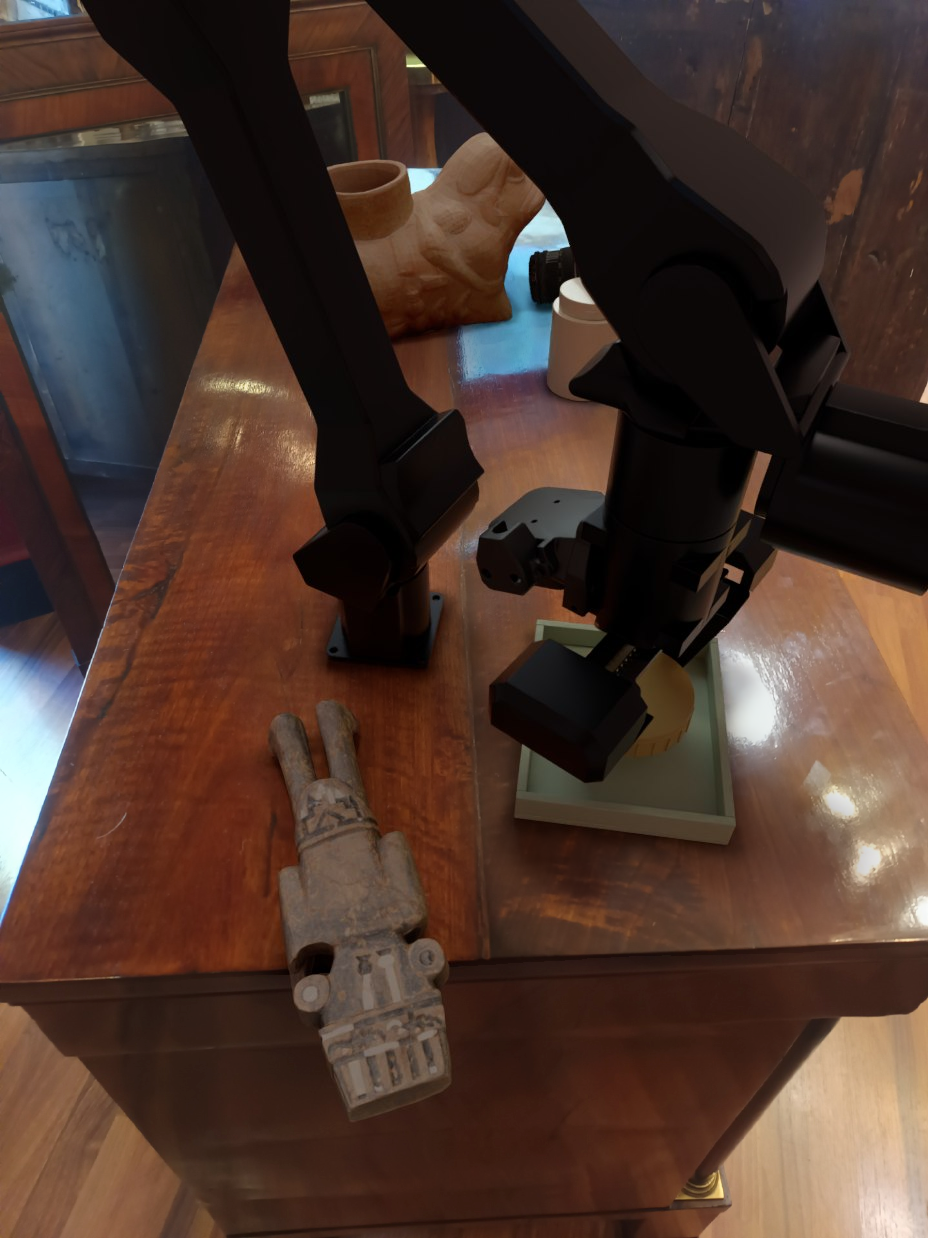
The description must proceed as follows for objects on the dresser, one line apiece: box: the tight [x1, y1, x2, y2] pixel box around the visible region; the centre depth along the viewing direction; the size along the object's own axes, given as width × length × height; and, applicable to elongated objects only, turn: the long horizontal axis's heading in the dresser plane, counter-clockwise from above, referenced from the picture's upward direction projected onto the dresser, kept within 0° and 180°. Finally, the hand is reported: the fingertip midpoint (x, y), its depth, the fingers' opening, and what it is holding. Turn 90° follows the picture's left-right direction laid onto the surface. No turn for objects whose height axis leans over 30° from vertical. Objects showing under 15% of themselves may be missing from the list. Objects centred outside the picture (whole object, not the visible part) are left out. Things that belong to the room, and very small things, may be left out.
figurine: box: [267, 698, 453, 1123], centre depth 39 cm, size 7×5×20 cm
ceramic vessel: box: [326, 131, 547, 342], centre depth 80 cm, size 14×26×15 cm, turn 112°
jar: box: [546, 277, 618, 402], centre depth 72 cm, size 6×6×9 cm
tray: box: [513, 618, 737, 846], centre depth 46 cm, size 13×11×2 cm
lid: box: [583, 650, 695, 758], centre depth 45 cm, size 7×7×2 cm
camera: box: [528, 246, 579, 305], centre depth 83 cm, size 15×11×10 cm
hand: (622, 722), depth 47 cm, fingers closed on lid, 6 cm apart
